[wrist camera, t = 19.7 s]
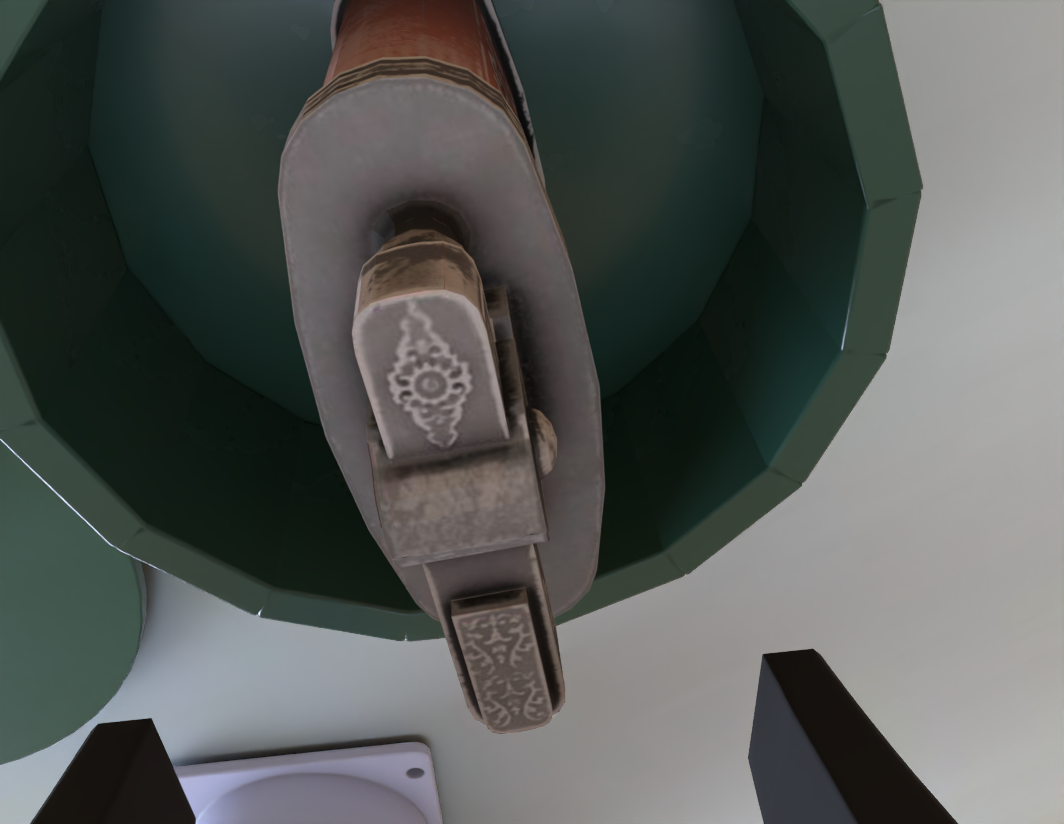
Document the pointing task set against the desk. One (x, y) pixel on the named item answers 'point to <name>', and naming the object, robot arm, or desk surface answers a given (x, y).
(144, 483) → the tin
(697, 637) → the desk surface
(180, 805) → the robot arm
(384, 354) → the lighter
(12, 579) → the tin lid
